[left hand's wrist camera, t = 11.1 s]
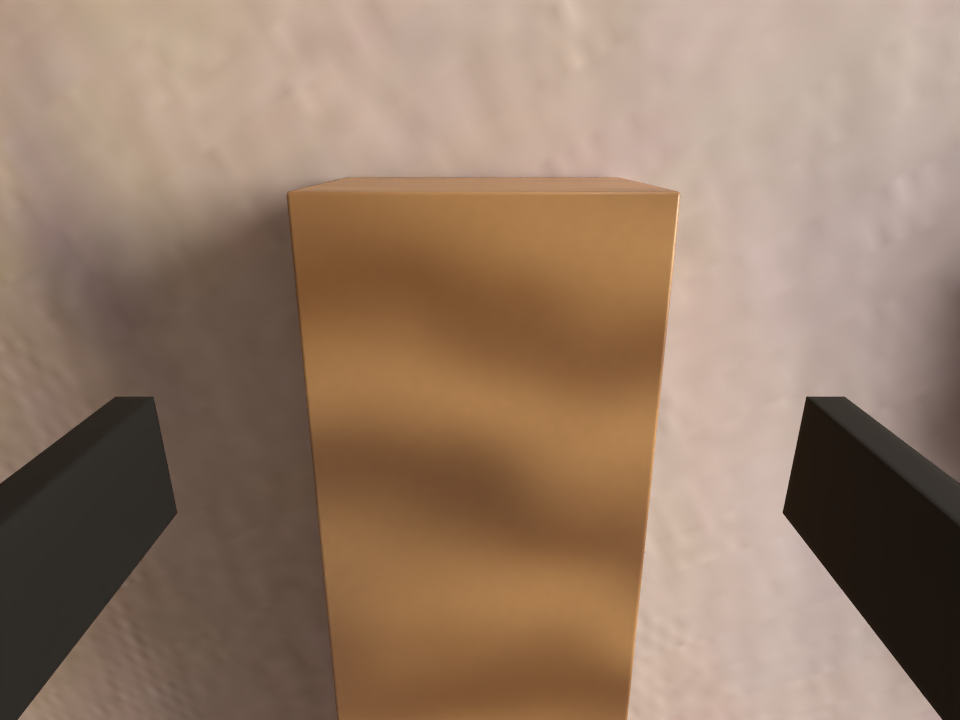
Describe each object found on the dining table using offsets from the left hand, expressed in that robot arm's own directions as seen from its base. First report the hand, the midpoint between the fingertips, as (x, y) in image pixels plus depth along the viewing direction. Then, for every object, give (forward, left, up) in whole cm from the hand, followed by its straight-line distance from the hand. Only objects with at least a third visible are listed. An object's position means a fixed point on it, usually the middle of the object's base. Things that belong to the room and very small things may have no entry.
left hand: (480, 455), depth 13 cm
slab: (+21, 0, -10) cm, 23 cm away
